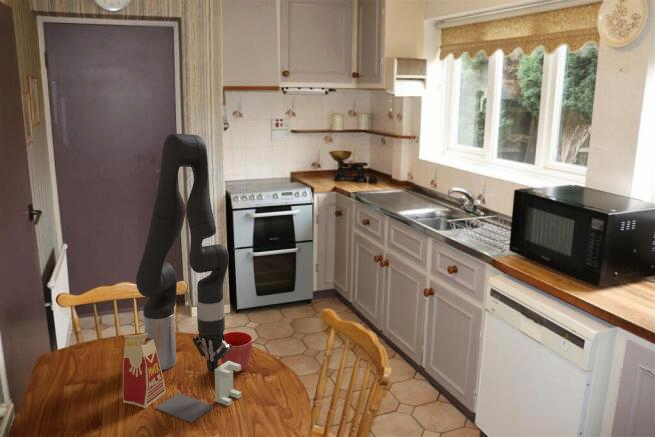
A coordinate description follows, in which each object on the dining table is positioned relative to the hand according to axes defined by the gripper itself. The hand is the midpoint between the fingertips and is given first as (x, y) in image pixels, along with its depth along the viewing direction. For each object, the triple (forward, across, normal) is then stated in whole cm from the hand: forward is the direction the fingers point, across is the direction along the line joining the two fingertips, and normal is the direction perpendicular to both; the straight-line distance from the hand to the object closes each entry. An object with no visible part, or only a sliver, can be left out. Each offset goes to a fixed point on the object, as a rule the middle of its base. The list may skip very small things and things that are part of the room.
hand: (212, 371), depth 165 cm
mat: (+7, -2, -10) cm, 12 cm away
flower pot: (+7, -5, +16) cm, 18 cm away
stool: (+7, +6, 0) cm, 9 cm away
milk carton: (+7, -16, -12) cm, 21 cm away
